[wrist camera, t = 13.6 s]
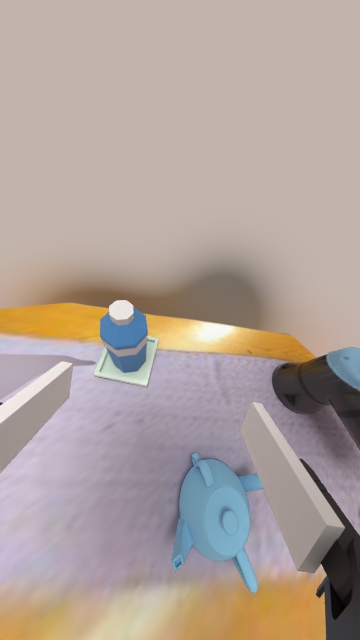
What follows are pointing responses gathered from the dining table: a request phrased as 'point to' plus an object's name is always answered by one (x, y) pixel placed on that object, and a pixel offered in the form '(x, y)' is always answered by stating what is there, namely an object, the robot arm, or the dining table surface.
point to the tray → (137, 378)
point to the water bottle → (125, 336)
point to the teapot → (215, 516)
